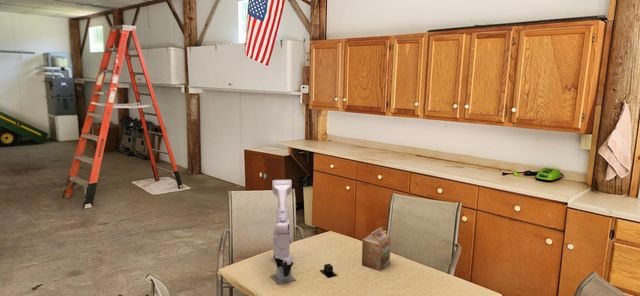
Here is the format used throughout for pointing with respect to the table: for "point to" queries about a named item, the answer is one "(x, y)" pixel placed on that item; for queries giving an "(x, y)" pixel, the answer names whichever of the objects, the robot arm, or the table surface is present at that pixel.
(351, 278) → the table surface
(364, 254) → the milk carton
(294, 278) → the mat
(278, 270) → the brick
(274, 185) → the robot arm
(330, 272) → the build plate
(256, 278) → the table surface
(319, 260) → the table surface
